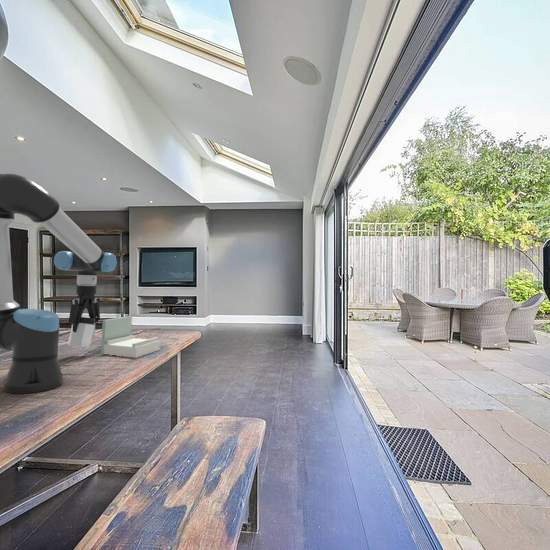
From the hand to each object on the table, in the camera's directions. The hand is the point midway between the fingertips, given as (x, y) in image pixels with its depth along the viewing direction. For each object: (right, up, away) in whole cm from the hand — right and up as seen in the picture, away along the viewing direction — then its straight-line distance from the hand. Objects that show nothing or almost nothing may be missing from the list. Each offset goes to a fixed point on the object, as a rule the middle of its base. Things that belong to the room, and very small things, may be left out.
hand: (84, 338), depth 148 cm
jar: (-1, -3, -2) cm, 4 cm away
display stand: (+17, -8, +10) cm, 21 cm away
